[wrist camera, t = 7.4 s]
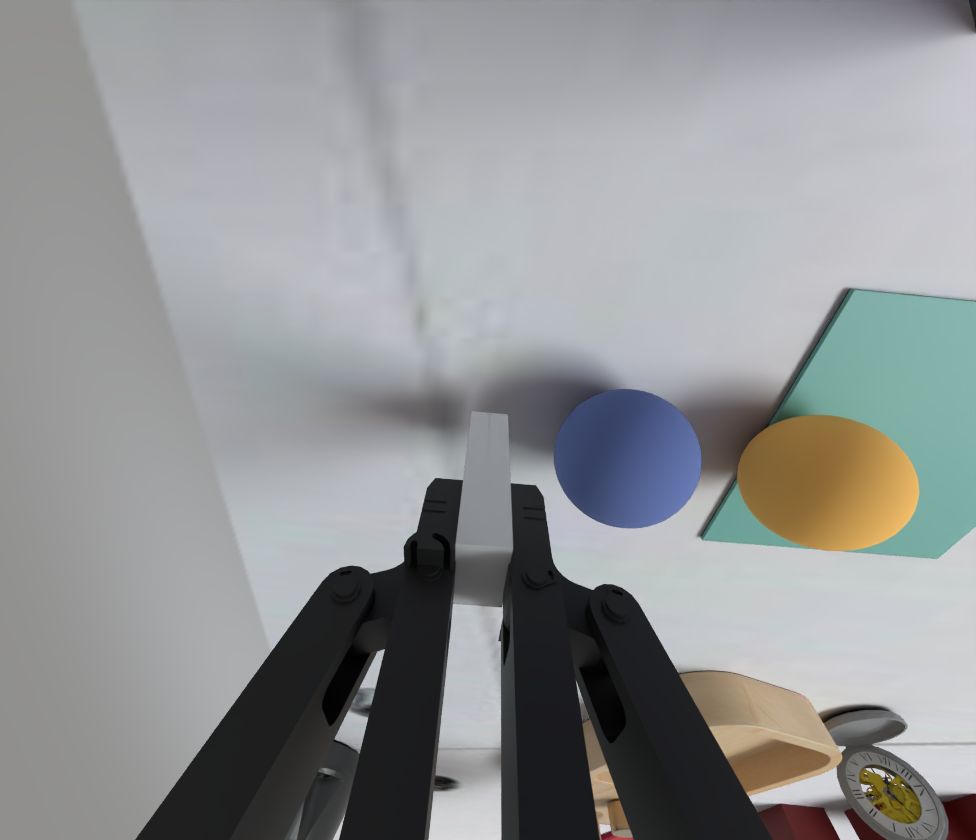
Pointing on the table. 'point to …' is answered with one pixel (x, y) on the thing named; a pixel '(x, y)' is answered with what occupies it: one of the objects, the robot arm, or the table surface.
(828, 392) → the green mark
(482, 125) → the table surface
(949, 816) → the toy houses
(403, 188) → the table surface
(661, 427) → the blue ball
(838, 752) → the lamp
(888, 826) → the pocket watch
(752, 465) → the orange ball
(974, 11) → the purple book
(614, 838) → the red board with handle
